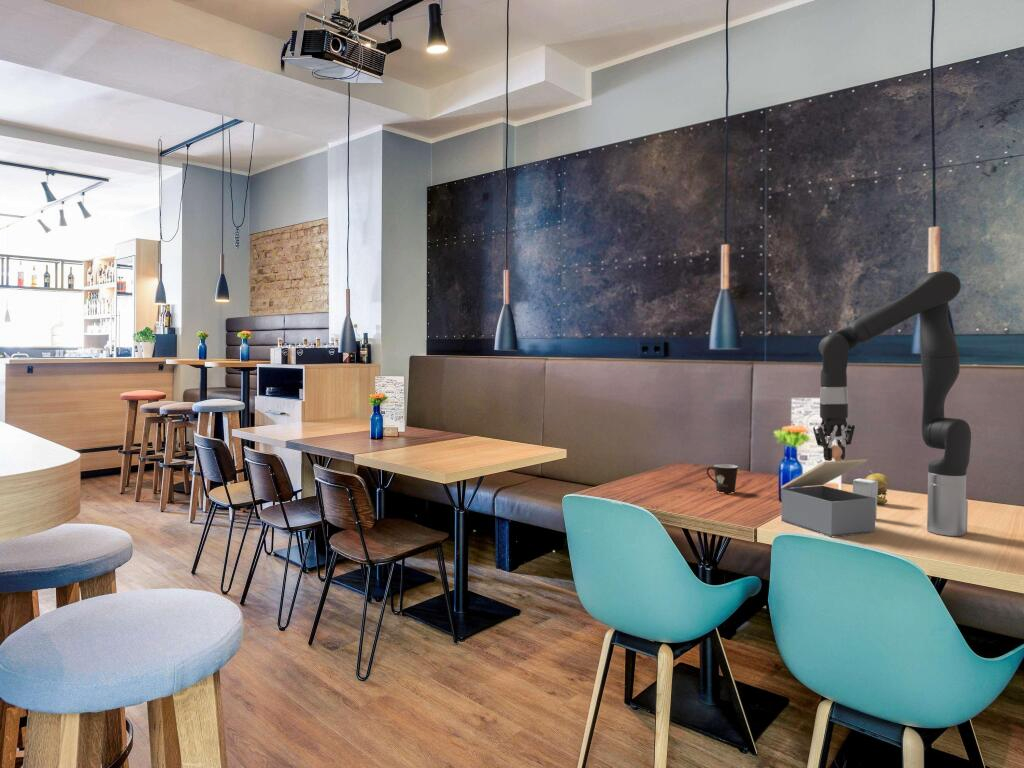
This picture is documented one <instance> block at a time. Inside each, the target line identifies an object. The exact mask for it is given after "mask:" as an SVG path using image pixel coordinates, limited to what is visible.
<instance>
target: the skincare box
mask: <svg viewBox="0 0 1024 768" xmlns="http://www.w3.org/2000/svg"><path fill="white" fill-rule="evenodd" d="M852 481H853V482H852V483H853V484H852V493H856V494H860V495H864V496H869V497H873V498H875V520H876V519H877V508H878V504H877V496H878V495H877V493H878V481H873V480H867V479H865V478H856V479H853V480H852Z"/></svg>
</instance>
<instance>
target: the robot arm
mask: <svg viewBox="0 0 1024 768" xmlns="http://www.w3.org/2000/svg"><path fill="white" fill-rule="evenodd" d="M961 285H962V284H961V280H960V278H959V276H957V275H956V274H955V273H952V272H950V271H945V270H939V271H938V270H937V271H933V272H928V273H925V274H923V275H922V276H921V277H920V278H919V279H918V280H917V282H916V284H915V288H914V289H913V290H911V291H910V292H908V293H907V294H905V295H903V296H901V297H900V298H898V299H895V300H893V301H891V302H888V303H886V304H884V305H881V306H880V307H877V308H875V309H873V310H872V311H869V312H867V313H866V314H864V315H862V316H860V317H858V318H857V319H856V320H855V319H854V320H853V321H852V322H851V323H849V324H848V325H846V326H844V327H842V328H840V329H838V330H836V331H834V332H832V333H830V334H828V335H826V336H824V337H823V338H822V339H821V340H820V342H819V344H818V351H819V353H820V354H821V356H822V369H821V371H820V390H819V391H820V392H819V417H820V418H821V423H820V425H818V426H813V428H812V431H813V433H814V434H813V435H814V437H815V440H816V444H817V446H819V447H822V448H823V459H824V460H825V461H826V462H832V460H833V458H832V448H831V447H832V445H833V441H835V442H836V443H835V444H836V445H837V446H839V447H840V448H841V449H842V455H841V460H842V461H845V458H846V447H847V446H849V445H851V444H852V440H853V437H854V433H855V429H856V427H855V425H854V424H848V422H847V419H848V418H849V392H848V375H847V369H848V363H849V362H848V361H849V354H850V353H849V351H850V350H853V348H855V347H857V346H859V345H862V344H864V343H867V342H869V341H871V340H873V339H875V338H876V337H878V336H880V335H882V334H884V333H886V332H887V331H888V330H890V329H892V328H894V327H895V326H898V325H899V324H901V323H902V322H905V321H906V320H908V319H910V318H912V317H914V316H916V315H919V328H920V329H919V332H920V333H919V335H920V336H919V337H920V339H919V340H920V341H919V342H920V365H921V376H922V377H921V378H922V416H921V436H922V440H923V442H924V444H925V445H926V446H927V447H929V448H933V449H937V450H938V449H939V450H944V452H943V453H944V454H943V457H942V458H940V459H937V460H932V461H929V463H928V464H927V465H928V467H927V509H926V510H927V512H926V513H927V516H926V517H927V518H926V519H927V520H926V521H927V522H926V531H928V532H930V533H932V534H937V535H940V536H941V535H942V536H948V537H961V536H964V535H966V534H967V533H968V515H969V513H968V511H969V502H968V499H967V469H968V467H969V464H970V456H971V446H972V445H971V444H972V443H971V442H972V432H971V431H972V430H971V427H970V425H969V423H968V422H967V421H966V420H965V419H961V418H953V417H951V418H950V417H945V403H946V402H945V401H946V400H947V399H946V398H947V396H948V394H949V392H950V390H951V389H952V387H953V386H954V384H955V382H956V381H957V380H958V377H959V375H960V371H961V370H960V369H961V368H960V351H959V347H958V343H957V340H956V337H955V334H954V332H953V329H952V327H951V324H950V319H949V302H951V301H952V300H954V299H955V298H956V297H957V296H958V295H959V293H960V291H961V287H962V286H961Z"/></svg>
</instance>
